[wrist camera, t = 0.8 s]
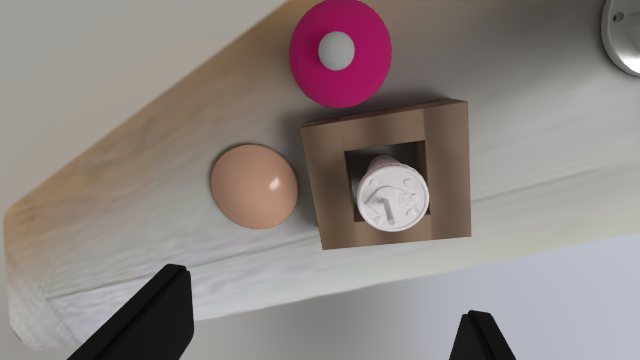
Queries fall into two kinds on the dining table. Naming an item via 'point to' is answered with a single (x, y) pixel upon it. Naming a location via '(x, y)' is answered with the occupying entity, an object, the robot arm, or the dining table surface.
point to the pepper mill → (340, 53)
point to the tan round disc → (254, 186)
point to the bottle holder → (386, 129)
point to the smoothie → (392, 195)
